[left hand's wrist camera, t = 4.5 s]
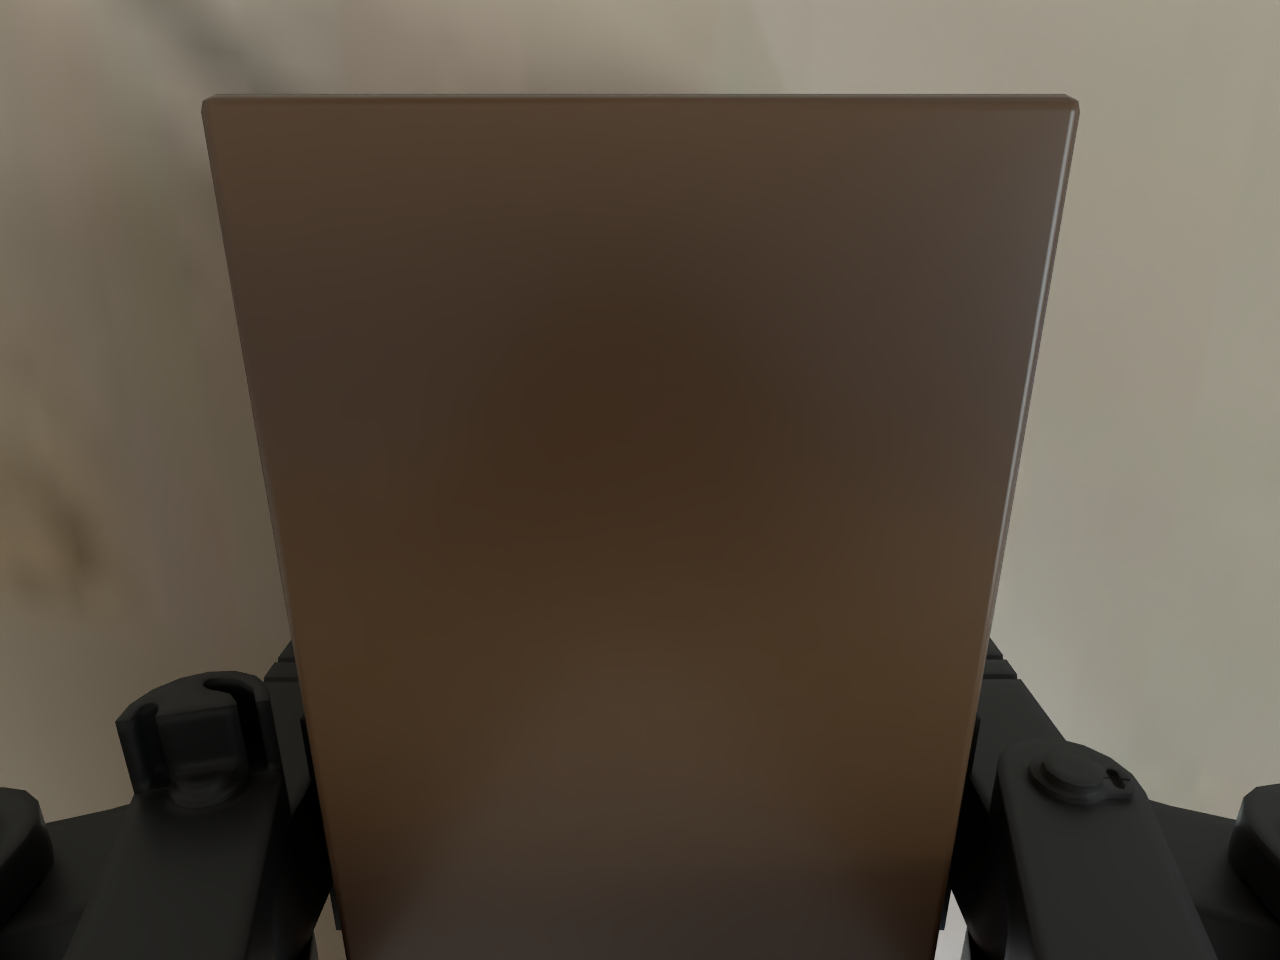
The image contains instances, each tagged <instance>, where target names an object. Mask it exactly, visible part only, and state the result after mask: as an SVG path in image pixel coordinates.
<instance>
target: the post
mask: <svg viewBox="0 0 1280 960" xmlns="http://www.w3.org/2000/svg"><path fill="white" fill-rule="evenodd" d="M201 113H202V119H203V125H204V131H205V137H206V142H207V148H208V154H209V160H210V166H211V171H212V177H213V183H214V189H215V195H216V201H217V206H218V212H219V218H220V224H221V230H222V236H223V241H224V247H225V253H226V259H227V265H228V271H229V276H230V282H231V288H232V294H233V300H234V306H235V311H236V317H237V323H238V329H239V335H240V341H241V346H242V352H243V358H244V364H245V370H246V376H247V381H248V387H249V393H250V399H251V405H252V411H253V416H254V422H255V428H256V434H257V440H258V446H259V451H260V457H261V463H262V469H263V475H264V481H265V486H266V492H267V498H268V504H269V510H270V516H271V521H272V527H273V533H274V539H275V545H276V551H277V556H278V562H279V568H280V574H281V580H282V586H283V591H284V597H285V603H286V609H287V615H288V621H289V626H290V632H291V638H292V644H293V650H294V656H295V661H296V667H297V673H298V679H299V685H300V691H301V696H302V702H303V708H304V714H305V720H306V726H307V731H308V737H309V743H310V749H311V755H312V761H313V766H314V772H315V778H316V784H317V790H318V796H319V801H320V807H321V813H322V819H323V825H324V831H325V836H326V842H327V848H328V854H329V860H330V866H331V871H332V877H333V883H334V889H335V895H336V901H337V906H338V912H339V918H340V924H341V930H342V935H343V941H344V947H345V953H346V959H347V960H934V957H935V951H936V946H937V940H938V934H939V928H940V922H941V917H942V911H943V905H944V899H945V893H946V887H947V882H948V876H949V870H950V864H951V858H952V853H953V847H954V841H955V835H956V829H957V823H958V818H959V812H960V806H961V800H962V794H963V789H964V783H965V777H966V771H967V765H968V759H969V754H970V748H971V742H972V736H973V730H974V725H975V719H976V713H977V707H978V701H979V695H980V690H981V684H982V678H983V672H984V666H985V661H986V655H987V649H988V643H989V637H990V631H991V626H992V620H993V614H994V608H995V602H996V597H997V591H998V585H999V579H1000V573H1001V567H1002V562H1003V556H1004V550H1005V544H1006V538H1007V533H1008V527H1009V521H1010V515H1011V509H1012V503H1013V498H1014V492H1015V486H1016V480H1017V474H1018V469H1019V463H1020V457H1021V451H1022V445H1023V439H1024V434H1025V428H1026V422H1027V416H1028V410H1029V405H1030V399H1031V393H1032V387H1033V381H1034V375H1035V370H1036V364H1037V358H1038V352H1039V346H1040V341H1041V335H1042V329H1043V323H1044V317H1045V312H1046V306H1047V300H1048V294H1049V288H1050V282H1051V277H1052V271H1053V265H1054V259H1055V253H1056V248H1057V242H1058V236H1059V230H1060V224H1061V218H1062V213H1063V207H1064V201H1065V195H1066V189H1067V184H1068V178H1069V172H1070V166H1071V160H1072V154H1073V149H1074V143H1075V137H1076V131H1077V125H1078V120H1079V114H1080V110H1079V103H1078V101H1077V100H1076V99H1074V98H1072V97H1070V96H1068V95H1066V94H215V95H213V96H211V97H209V98H207V99H205V100H204V101H203V103H202V111H201Z"/></svg>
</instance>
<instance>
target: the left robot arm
mask: <svg viewBox="0 0 1280 960" xmlns="http://www.w3.org/2000/svg"><path fill="white" fill-rule="evenodd" d="M115 723H116V727H117V731H118V734H119V738H120V742H121V746H122V749H123V753H124V757H125V760H126V764H127V768H128V772H129V775H130V779H131V783H132V786H133V790H134V796H133V799H132V801H131V803H130V804H128V805H124V806H121V807H117V808H114V809H110V810H105V811H101V812H96V813H92V814H87V815H82V816H78V817H73V818H69V819H64V820H59V821H55V822H50V823H46V824H45V821H44V818H43V815H42V811H41V808H40V805H39V802H38V800H36V799H35V798H34V797H33V796H31V795H30V794H29V793H28V792H27V791H25V790H18V789H11V788H4V787H0V960H318V953H317V946H316V940H315V935H314V928H315V925H316V923H317V921H318V918H319V916H320V914H321V911H322V909H323V907H324V904H325V902H326V900H327V897H328V895H329V893H330V896H331V902H332V908H333V914H334V919H335V925H336V930H341V924H340V918H339V912H338V906H337V901H336V895H335V889H334V883H333V877H332V871H331V866H330V860H329V854H328V848H327V842H326V836H325V831H324V825H323V819H322V813H321V807H320V801H319V796H318V790H317V784H316V778H315V772H314V766H313V761H312V755H311V749H310V743H309V737H308V731H307V726H306V720H305V714H304V708H303V702H302V696H301V691H300V685H299V679H298V673H297V667H296V661H295V656H294V650H293V644H292V640H291V641H290V642H289V644H288V645H287V647H286V648H285V649H284V651H283V652H282V653H281V655H280V656H279V658H278V662H275V663H274V664H273V666H272V667H271V668H270V670H269V671H268V673H267V674H266V675H265V677H264V682H263V681H261V680H260V679H259V678H258V677H257V676H254V675H250V674H246V673H242V672H237V671H219V672H206V673H202V674H197V675H193V676H188V677H184V678H180V679H177V680H175V681H172V682H170V683H168V684H165V685H163V686H160V687H158V688H155V689H153V690H151V691H150V692H148V693H147V694H145V695H144V696H142V697H141V698H139V699H138V700H136V701H135V702H133V703H132V704H130V705H129V706H128V707H127V708H126V710H125V711H124V712H123V713H122V714H121V716H120V717H119V718H118V719H117V720H116V721H115ZM951 889H952V892H953V894H954V896H955V899H956V901H957V903H958V906H959V908H960V910H961V913H962V915H963V918H964V920H965V922H966V925H967V930H966V935H965V940H964V946H963V951H962V956H961V960H1280V784H1274V785H1267V786H1260V787H1256V788H1255V789H1253V790H1252V791H1251V792H1250V793H1249V794H1247V795H1246V796H1245V797H1244V798H1243V801H1242V804H1241V807H1240V811H1239V814H1238V817H1237V820H1233V819H1229V818H1224V817H1219V816H1215V815H1210V814H1205V813H1201V812H1196V811H1192V810H1187V809H1182V808H1178V807H1173V806H1169V805H1165V804H1162V803H1158V802H1155V801H1151V800H1149V799H1148V797H1147V795H1146V793H1145V791H1144V790H1143V789H1142V787H1141V786H1140V784H1139V783H1138V782H1137V780H1136V779H1135V777H1134V776H1133V775H1132V774H1131V773H1130V772H1128V771H1127V770H1126V769H1125V768H1123V767H1122V766H1121V765H1119V764H1118V763H1117V762H1115V761H1114V760H1113V759H1111V758H1110V757H1108V756H1106V755H1103V754H1101V753H1099V752H1097V751H1095V750H1093V749H1091V748H1089V747H1086V746H1084V745H1080V744H1077V743H1073V742H1069V741H1066V740H1065V739H1064V737H1063V736H1062V735H1061V733H1060V732H1059V731H1058V729H1057V728H1056V727H1055V725H1054V724H1053V723H1052V721H1051V720H1050V718H1049V717H1048V716H1047V714H1046V713H1045V712H1044V710H1043V709H1042V708H1041V706H1040V705H1039V704H1038V702H1037V701H1036V699H1035V698H1034V697H1033V695H1032V694H1031V693H1030V691H1029V690H1028V689H1027V687H1026V686H1025V685H1024V683H1023V682H1022V680H1021V679H1017V674H1016V672H1015V671H1014V670H1013V668H1012V667H1011V666H1010V664H1009V663H1008V661H1007V660H1003V655H1002V653H1001V652H1000V651H999V649H998V648H997V647H996V645H995V644H994V642H993V641H992V640H991V638H990V637H989V643H988V649H987V655H986V661H985V666H984V672H983V678H982V684H981V690H980V695H979V701H978V707H977V713H976V719H975V725H974V730H973V736H972V742H971V748H970V754H969V759H968V765H967V771H966V777H965V783H964V789H963V794H962V800H961V806H960V812H959V818H958V823H957V829H956V835H955V841H954V847H953V853H952V858H951V864H950V870H949V876H948V882H947V887H946V893H945V899H944V905H943V911H942V917H941V922H940V928H939V930H944V928H945V922H946V917H947V911H948V905H949V899H950V894H951Z"/></svg>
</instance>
